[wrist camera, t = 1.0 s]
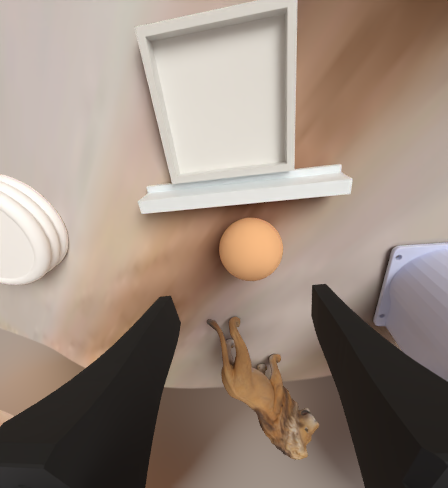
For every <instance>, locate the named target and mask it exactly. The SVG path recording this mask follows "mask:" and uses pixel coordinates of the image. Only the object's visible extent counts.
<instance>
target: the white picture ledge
mask: <svg viewBox="0 0 448 488" xmlns="http://www.w3.org/2000/svg"><path fill="white" fill-rule="evenodd" d="M341 167H342V165H341V164H334V165H325V166H317V167H308V168H299V169H294V170H293V171H284V172H275V173H266V174H257V175H249V176H240V177H231V178H222V179H213V180H205V181H196V182H187V183H178V184H172V183H168V184H159V185H150V186H147V191H148V194H146V195H145V196H144V197H143V198H141V199H140V200H139V201H138V204H139V207H140V210H141V213H142V214H147V213H157V212H167V211H178V210H188V209H198V208H209V207H219V206H229V205H240V204H250V203H260V202H271V201H281V200H291V199H302V198H312V197H322V196H333V195H343V194H351V187H352V180H353V179H352V178H350V177H349V176H347V175H345V174H344V173H342V172H341Z"/></svg>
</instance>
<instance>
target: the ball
mask: <svg viewBox="0 0 448 488" xmlns="http://www.w3.org/2000/svg"><path fill="white" fill-rule="evenodd" d="M219 254H220V258H221V261H222V263H223V265H224V267H225V268H226V269H227V270H228V272H229V273H231V274H232V275H233V276H235V277H237V278H239V279H242V280H246V281H256V280H261V279H263V278H266V277H267V276H269V275H270V274H272V273H273V272H274V271H275V270H276V268H277V267H278V265H279V264H280V261H281V259H282V254H283V245H282V240H281V238H280V235H279V233H278V232H277V230H276V229H275V228H274V227H273V226H272V225H271V224H269V223H268V222H266V221H264V220H262V219H258V218H244V219H240V220H238V221H236V222H234V223H233V224H231V225H230V226H229V227H228V228H227V229H226V230H225V232H224V233H223V235H222V238H221V240H220V245H219Z"/></svg>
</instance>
